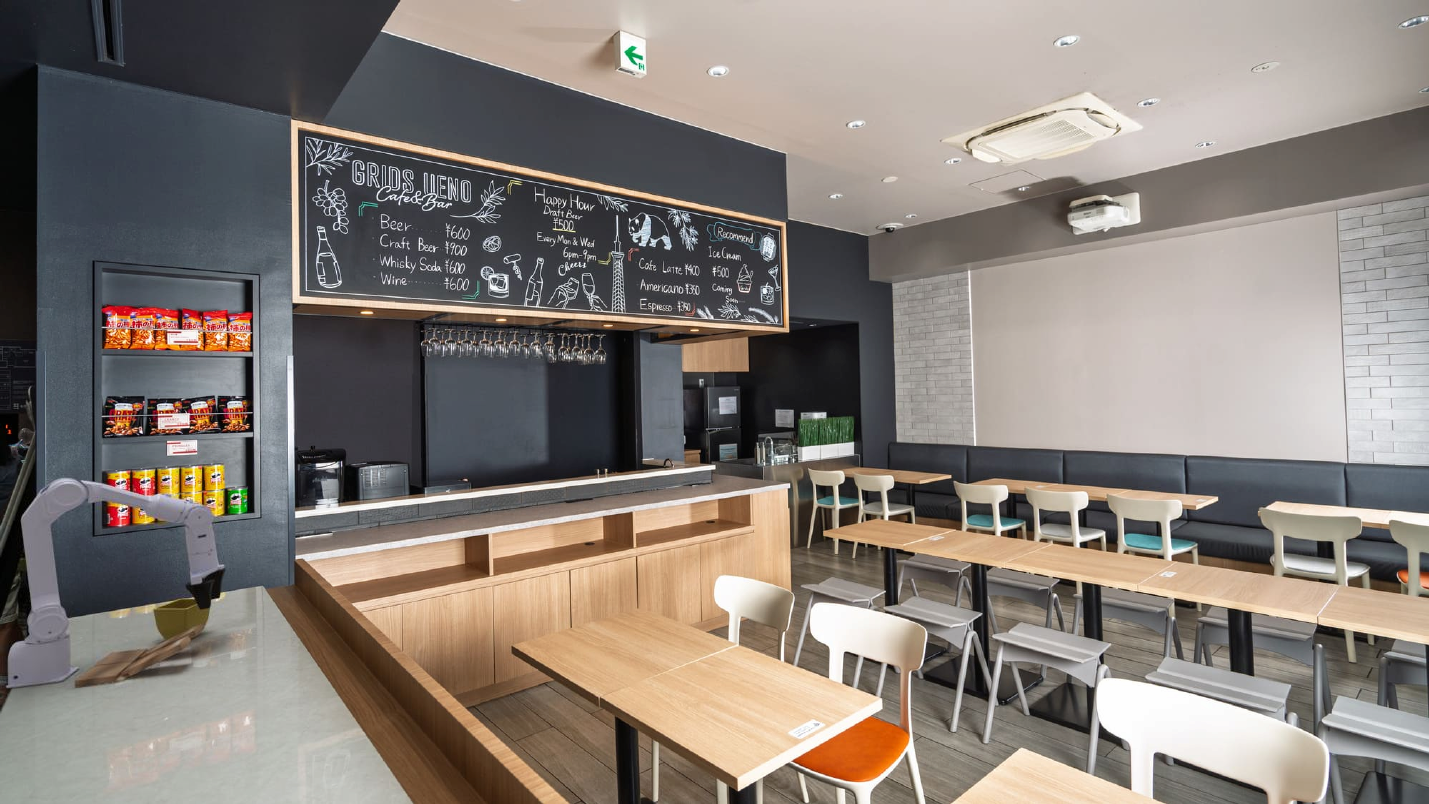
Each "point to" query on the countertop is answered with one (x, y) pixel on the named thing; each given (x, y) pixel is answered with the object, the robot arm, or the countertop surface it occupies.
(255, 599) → the countertop surface
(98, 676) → the laid floor
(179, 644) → the plank near
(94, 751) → the countertop surface
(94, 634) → the countertop surface
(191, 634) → the plank far
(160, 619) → the flower pot
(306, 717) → the countertop surface
